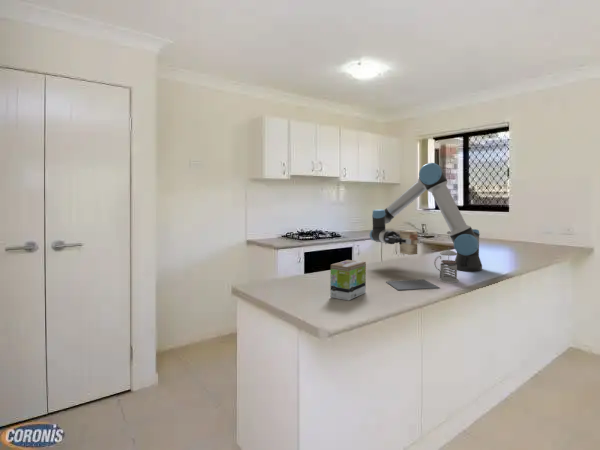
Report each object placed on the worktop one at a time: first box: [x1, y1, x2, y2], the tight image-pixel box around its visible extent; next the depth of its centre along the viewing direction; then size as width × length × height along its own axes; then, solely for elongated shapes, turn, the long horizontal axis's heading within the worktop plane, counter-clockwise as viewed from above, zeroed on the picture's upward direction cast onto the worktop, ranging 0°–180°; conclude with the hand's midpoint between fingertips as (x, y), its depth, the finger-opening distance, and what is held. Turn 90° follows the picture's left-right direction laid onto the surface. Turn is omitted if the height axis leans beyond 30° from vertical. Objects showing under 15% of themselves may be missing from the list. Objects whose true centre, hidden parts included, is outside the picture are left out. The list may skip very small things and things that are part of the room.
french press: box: [434, 231, 460, 284], centre depth 183 cm, size 10×12×25 cm
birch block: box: [399, 229, 418, 256], centre depth 192 cm, size 5×8×12 cm, turn 21°
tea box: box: [329, 259, 367, 301], centre depth 161 cm, size 15×10×15 cm, turn 143°
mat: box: [385, 278, 440, 291], centre depth 176 cm, size 20×16×1 cm
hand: (414, 241), depth 188 cm, fingers closed on birch block, 5 cm apart
